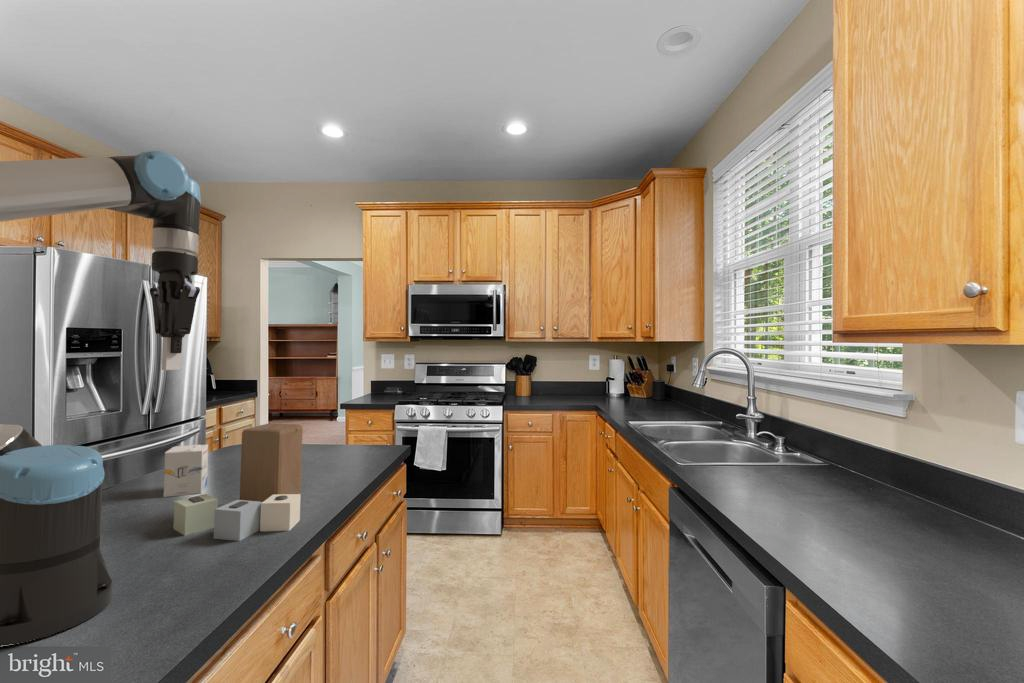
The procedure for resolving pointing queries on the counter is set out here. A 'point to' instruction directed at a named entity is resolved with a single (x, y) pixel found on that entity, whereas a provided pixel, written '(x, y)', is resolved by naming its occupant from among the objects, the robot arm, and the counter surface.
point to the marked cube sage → (194, 514)
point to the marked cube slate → (237, 520)
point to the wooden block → (270, 461)
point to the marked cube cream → (280, 512)
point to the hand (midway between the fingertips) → (171, 369)
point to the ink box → (185, 470)
